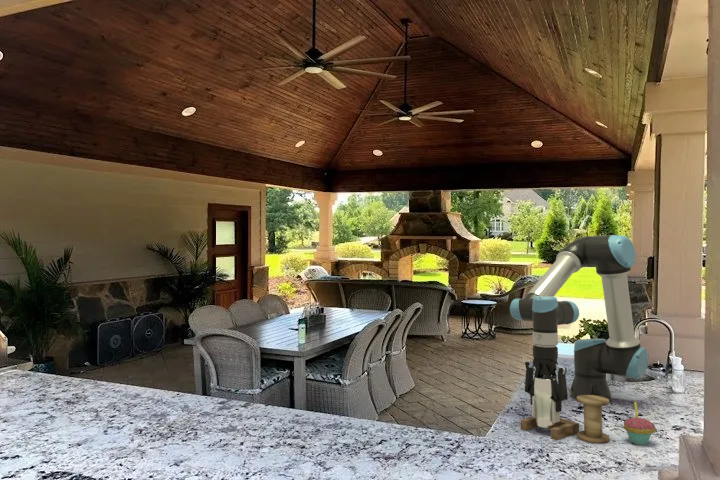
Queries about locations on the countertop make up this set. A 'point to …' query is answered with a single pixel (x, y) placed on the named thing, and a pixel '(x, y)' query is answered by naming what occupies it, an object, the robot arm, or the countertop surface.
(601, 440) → the bobbin
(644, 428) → the cupcake
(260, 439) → the countertop surface
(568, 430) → the u-shaped block
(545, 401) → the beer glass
